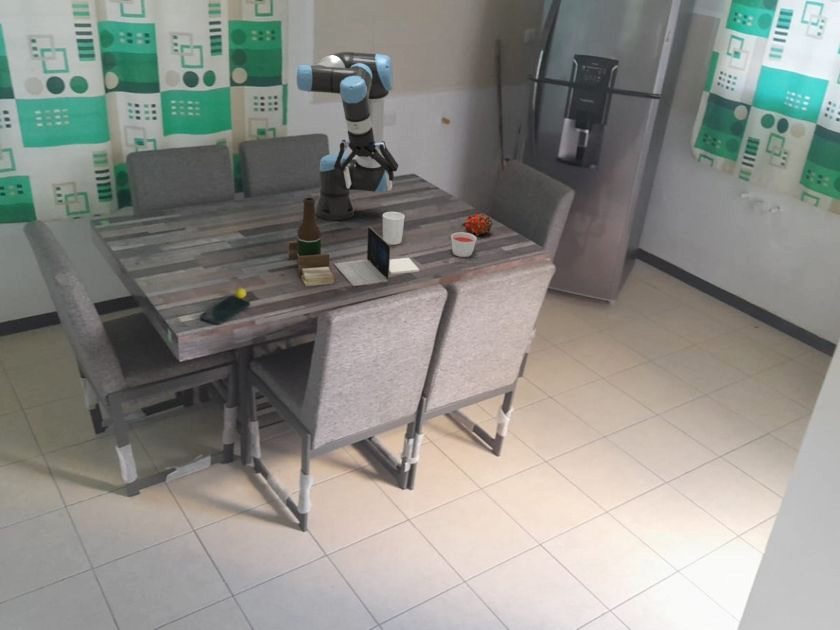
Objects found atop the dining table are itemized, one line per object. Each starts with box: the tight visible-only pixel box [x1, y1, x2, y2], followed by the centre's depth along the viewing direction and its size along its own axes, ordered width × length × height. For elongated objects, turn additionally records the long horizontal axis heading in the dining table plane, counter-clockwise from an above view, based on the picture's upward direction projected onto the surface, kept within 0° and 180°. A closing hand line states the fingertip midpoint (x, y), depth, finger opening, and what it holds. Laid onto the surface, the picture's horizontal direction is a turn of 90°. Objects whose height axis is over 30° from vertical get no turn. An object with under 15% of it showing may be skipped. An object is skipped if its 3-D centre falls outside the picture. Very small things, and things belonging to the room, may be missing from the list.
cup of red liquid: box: [450, 231, 477, 258], centre depth 281 cm, size 9×9×6 cm
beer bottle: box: [296, 197, 322, 264], centre depth 258 cm, size 8×8×24 cm
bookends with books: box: [287, 240, 335, 287], centre depth 260 cm, size 23×10×7 cm, turn 22°
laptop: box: [333, 225, 391, 287], centre depth 259 cm, size 18×13×13 cm
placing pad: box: [389, 257, 420, 275], centre depth 268 cm, size 10×10×1 cm
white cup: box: [382, 211, 405, 246], centre depth 286 cm, size 8×8×10 cm
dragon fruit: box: [461, 213, 493, 237], centre depth 299 cm, size 8×8×12 cm
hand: (369, 187), depth 250 cm, fingers open, 13 cm apart
